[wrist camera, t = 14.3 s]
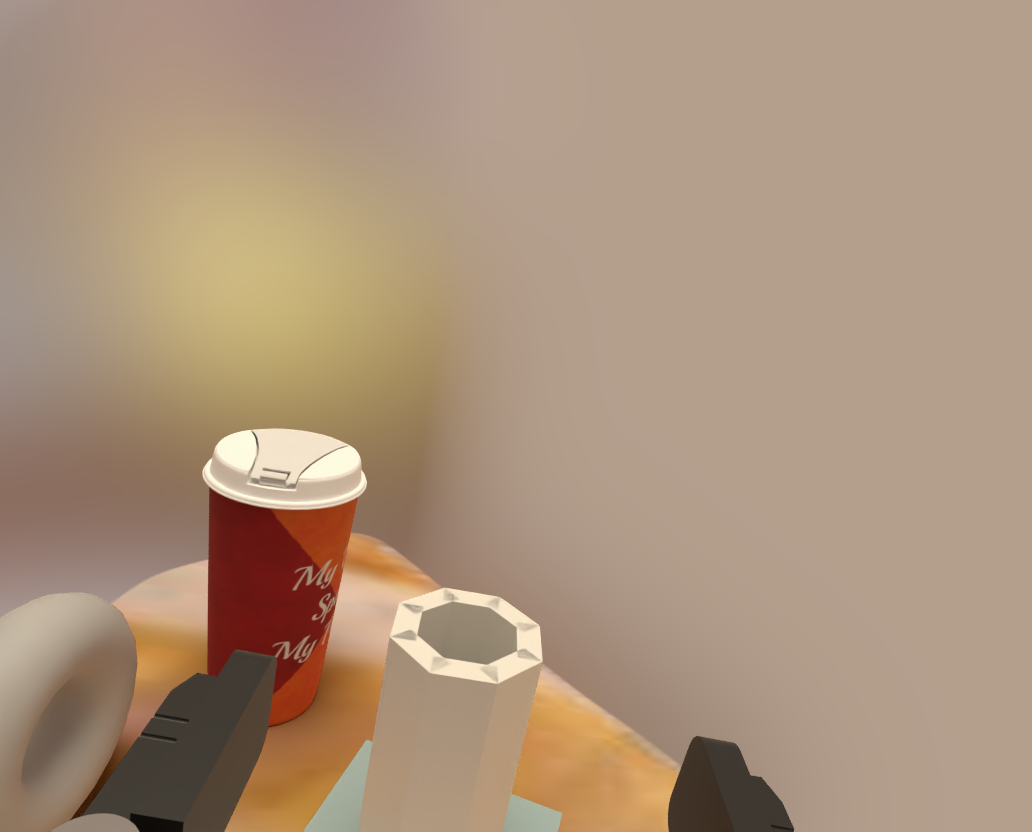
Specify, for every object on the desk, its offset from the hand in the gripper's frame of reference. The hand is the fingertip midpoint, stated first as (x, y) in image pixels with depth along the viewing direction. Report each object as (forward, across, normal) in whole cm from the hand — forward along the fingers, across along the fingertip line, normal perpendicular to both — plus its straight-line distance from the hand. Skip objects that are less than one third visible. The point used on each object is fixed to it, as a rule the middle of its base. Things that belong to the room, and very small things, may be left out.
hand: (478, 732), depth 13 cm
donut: (+11, +15, +18) cm, 26 cm away
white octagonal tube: (+11, 0, +16) cm, 20 cm away
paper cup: (+20, +9, +18) cm, 29 cm away
